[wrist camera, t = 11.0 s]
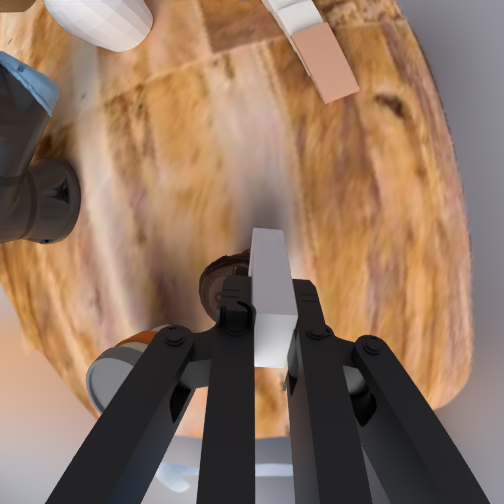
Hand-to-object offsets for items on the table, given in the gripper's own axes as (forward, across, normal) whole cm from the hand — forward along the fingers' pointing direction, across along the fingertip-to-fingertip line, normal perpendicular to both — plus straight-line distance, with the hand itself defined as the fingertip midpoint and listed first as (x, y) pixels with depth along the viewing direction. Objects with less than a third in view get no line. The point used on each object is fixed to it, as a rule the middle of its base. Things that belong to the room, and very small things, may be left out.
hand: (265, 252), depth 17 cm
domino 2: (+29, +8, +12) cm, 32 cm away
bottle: (+39, -23, +18) cm, 48 cm away
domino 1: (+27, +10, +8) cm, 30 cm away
